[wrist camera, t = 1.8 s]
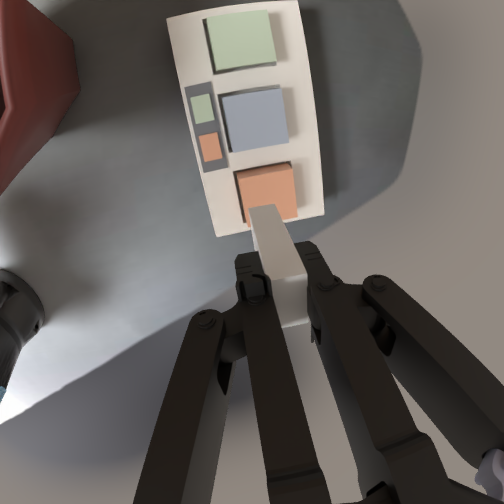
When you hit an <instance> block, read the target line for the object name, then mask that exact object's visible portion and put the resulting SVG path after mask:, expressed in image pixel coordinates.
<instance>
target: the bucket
mask: <svg viewBox="0 0 504 504" xmlns="http://www.w3.org/2000/svg"><path fill="white" fill-rule="evenodd" d="M80 90H81V89H80V84H79V79H78V73H77V67H76V61H75V54H74V47H73V40H72V39H71V38H70V37H69V36H68V35H67V34H66V33H64V32H63V31H62V30H61V29H60V28H59V27H58V26H56V25H55V24H54V23H53V22H52V21H51V20H50V19H48V18H47V17H46V16H45V15H44V14H43V13H41V12H40V11H39V10H38V9H37V8H36V7H34V6H33V5H32V4H31V3H30V2H28V1H27V0H0V196H1V194H2V193H3V192H4V190H5V189H6V188H7V187H8V185H9V184H10V183H11V182H12V180H13V179H14V178H15V177H16V176H17V174H18V173H19V172H20V171H21V170H22V169H23V167H24V166H25V165H26V164H27V163H28V162H29V161H30V160H31V159H32V157H33V156H34V155H35V154H36V153H37V152H38V151H39V150H40V149H41V148H42V147H43V146H44V145H45V144H46V143H47V142H48V141H49V140H50V139H51V138H52V136H53V135H54V133H55V131H56V129H57V127H58V126H59V124H60V122H61V120H62V119H63V117H64V115H65V114H66V112H67V110H68V109H69V107H70V106H71V104H72V102H73V101H74V99H75V98H76V96H77V95H78V93H79V92H80Z"/></svg>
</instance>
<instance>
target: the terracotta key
mask: <svg viewBox="0 0 504 504" xmlns="http://www.w3.org/2000/svg"><path fill="white" fill-rule="evenodd" d="M237 178H238V183H239V188H240V193H241V198H242V203H243V209H244V214H245V218H246V222H247V226H248V227H251V224H250V217H249V211H248V208H252V207H257V206H263V205H269V204H275V206H276V208H277V210H278V212H279V214H280V216H281V218H282V220H286V219H291V218H296V217H298V213H297V203H296V194H295V185H294V176H293V169H292V168H291V167H290V166H289V165H288V164H287V163H284V164H278V165H273V166H267V167H262V168H257V169H252V170H247V171H242V172H237Z"/></svg>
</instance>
